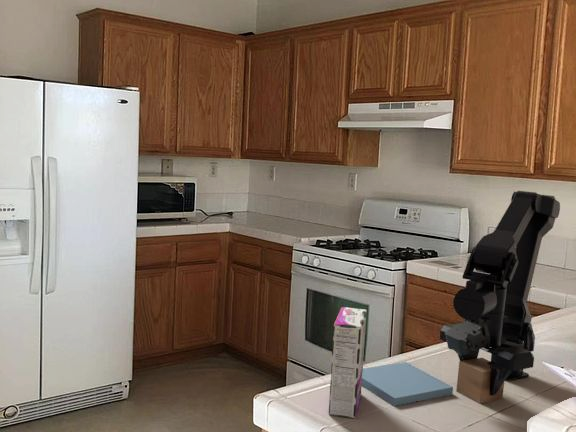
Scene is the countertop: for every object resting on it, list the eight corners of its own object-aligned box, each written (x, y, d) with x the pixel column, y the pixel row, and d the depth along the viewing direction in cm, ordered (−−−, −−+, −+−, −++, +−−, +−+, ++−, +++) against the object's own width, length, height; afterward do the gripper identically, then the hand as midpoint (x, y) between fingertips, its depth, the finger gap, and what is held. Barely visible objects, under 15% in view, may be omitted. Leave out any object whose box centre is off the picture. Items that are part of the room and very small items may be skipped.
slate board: (405, 368, 133) (405, 361, 133) (452, 394, 121) (453, 387, 121) (349, 377, 126) (350, 370, 126) (394, 406, 114) (394, 398, 114)
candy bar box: (334, 390, 120) (341, 305, 118) (361, 394, 119) (368, 308, 117) (326, 415, 109) (332, 322, 107) (355, 419, 108) (362, 326, 106)
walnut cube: (478, 386, 126) (482, 357, 125) (502, 398, 121) (505, 368, 120) (456, 391, 123) (459, 361, 122) (479, 403, 118) (482, 372, 117)
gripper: (422, 299, 124) (415, 376, 126) (495, 328, 107) (486, 416, 110) (464, 295, 129) (457, 369, 131) (540, 322, 113) (530, 405, 115)
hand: (479, 388), depth 122 cm, fingers closed on walnut cube, 6 cm apart
